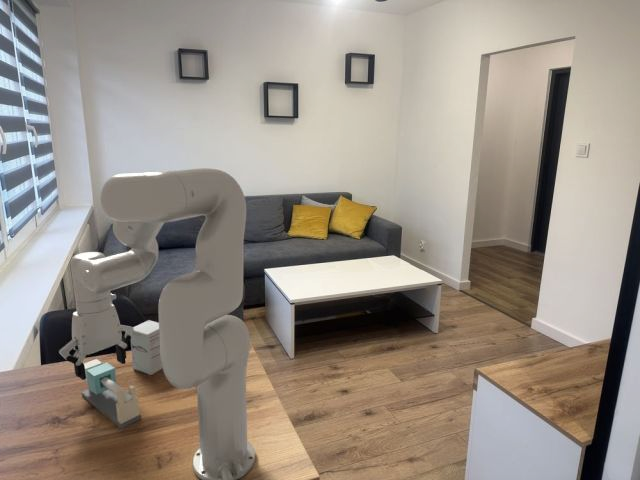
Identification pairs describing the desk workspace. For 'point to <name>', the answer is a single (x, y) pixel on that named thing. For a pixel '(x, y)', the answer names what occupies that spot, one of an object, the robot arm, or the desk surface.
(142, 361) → the supplement box
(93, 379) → the sleeve
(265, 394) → the desk surface
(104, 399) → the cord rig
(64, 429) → the desk surface
